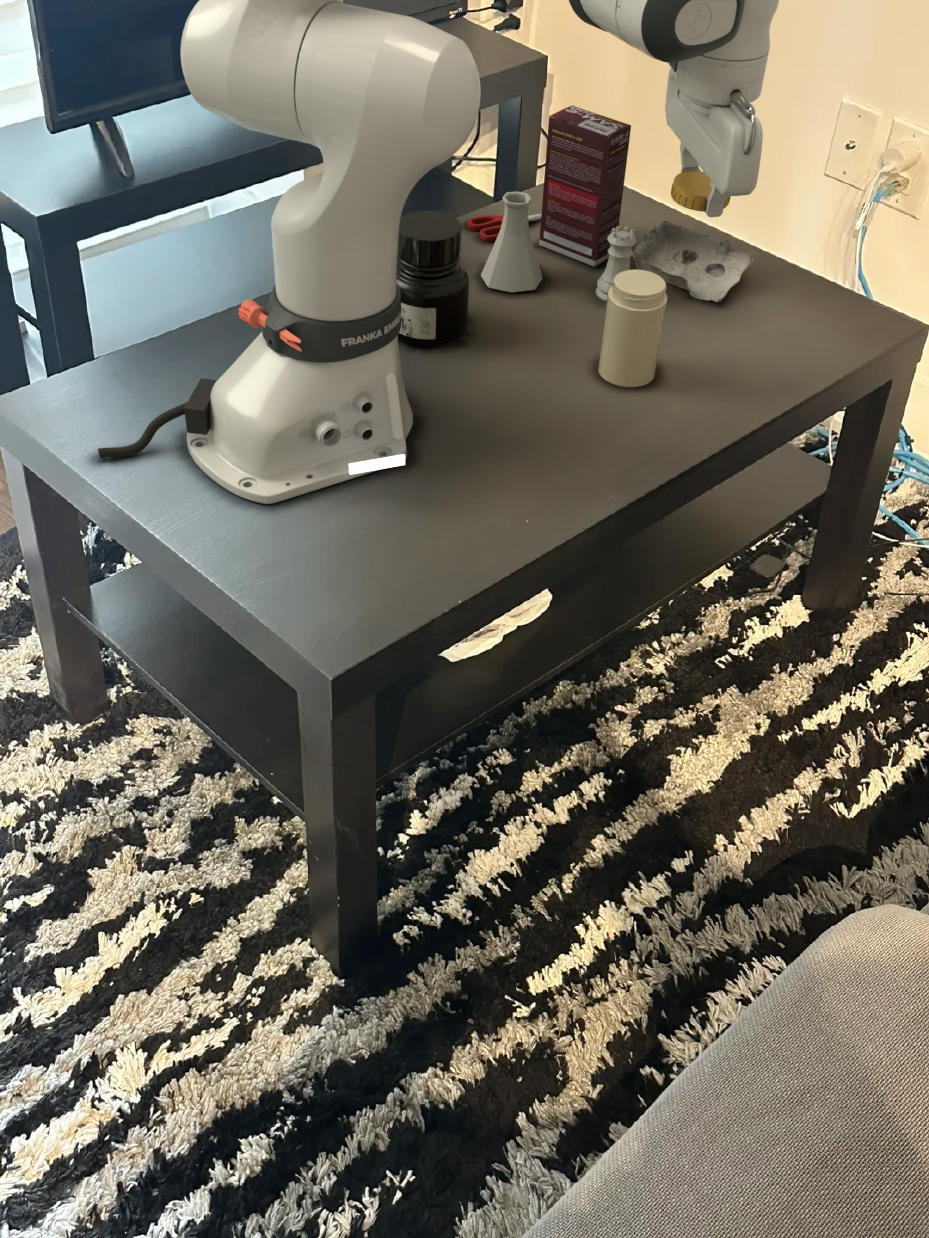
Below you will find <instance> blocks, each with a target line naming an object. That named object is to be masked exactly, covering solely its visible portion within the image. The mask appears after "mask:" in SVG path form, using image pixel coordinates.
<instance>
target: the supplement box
mask: <svg viewBox="0 0 929 1238" xmlns="http://www.w3.org/2000/svg"><path fill="white" fill-rule="evenodd" d="M631 130H632V125H631V124H628V123H625V122H622V121H620V120H616V119H613V118H610V117H608V116H604V115H601V114H598V113H595V112H592V111H590V110H587V109H584V108H581V107H578V106H575V105H570V106H569V105H568V106H567V107H565V108H562V109H560V110H557V111H556V112H554V113H553V114H549V115H548V125H547V136H546V137H547V138H546V147H545V148H546V149H545V160H544V161H545V162H544V163H545V164H544V173H543V175H544V177H543V190H542V200H541V201H542V203H541V213H542V214H541V218H540V228H539V239H538V245H539V246H540V247H543V248H546V249H548V250H551V251H553V252H556V253H558V254H561V255H563V256H565V257H568V258H571V259H573V260H576V261H578V262H581V263H584V264H586V265H589V266H591V267H593V268H595V267H597V266H599V265H600V264H602V263H604V262H605V261H608V259H609V253H608V249H609V248H610V246H611V245H610V243H609V241H608V239H607V237H608V236H609V235H610V234H611V232H612V229H613V228H615V231H616V227H617V226H620V218H621V211H622V203H623V194H624V187H625V181H626V180H625V179H626V173H627V172H626V170H627V163H628V155H629V148H630V147H629V146H630V139H631V137H630V136H631Z"/></svg>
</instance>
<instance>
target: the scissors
mask: <svg viewBox="0 0 929 1238" xmlns="http://www.w3.org/2000/svg"><path fill="white" fill-rule="evenodd" d="M541 214H542V212H541V213H536V214H531V215H528V222H532V221H535V220H541ZM503 217H504V215H479V216H474V217H471V218H469V219H468V220H467V227H468V228H469V230H471V231H479V238H480V239H481V241H483V242H489V243H490V242H495V241H496V239H497V237H498V234H499V232H500V229H501V225H502V221H503Z"/></svg>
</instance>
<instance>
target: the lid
mask: <svg viewBox="0 0 929 1238" xmlns="http://www.w3.org/2000/svg"><path fill="white" fill-rule="evenodd" d="M710 184H711V180H710V179H709V178H708V176H707V175H706V174H705V172H704V171H703V170H701V171H688V172H683V173H681V172H680V173H678V174H677V175H676V176H674V178H673V182H672V184H671V188H670V198H671V199H672V201H674V202H675V203H676V204H677V205H679V206H680V207H683V208H686V209H688V210H690V211H691V210H692V211H695V212H701V213H702V212H704V213H705V211H704V210H703V206H704V200H705V197H708V196H709V195H710V192H711V190H712V188H711V187H710ZM731 197H732V196H729V197H728V198H727V200H726V201H725V203H724V208H723V210H724V209H726V208H727V207H728V206H729V204H730V201H731Z"/></svg>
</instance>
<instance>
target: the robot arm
mask: <svg viewBox="0 0 929 1238" xmlns="http://www.w3.org/2000/svg"><path fill="white" fill-rule="evenodd" d="M568 2H569V5H570V7H571V9H572V11H573V12H574V14H575V15H576V17H578V18H579V19H580V20H581V21H582V22H584V23H585V24H587V25H589V26H591V27H594V28H596V29H599V30H601V31H603V32H606V33H609V34H610V35H612V36H614V37H615V38H616V39H618V40H620V41H621V42H623V43H625V44H627V45H628V46H630V47H632V48H634V49H636V50H637V51H639V52H641V53H643V54H644V55H646V56H648V57H650V58H652V59H654V60H657V61H660V62H663V63H667V64H668V65H669V70H668V76H667V83H666V94H665V104H664V112H665V113H664V114H665V121H666V124H667V126H668V128H669V129H670V130H671V131H672V132H673V133H674V135H675V137H677V139H678V140H679V141H680V145H679V151H680V163H681V169H680V173H683V172H688V171H702V172H705V174H706V175H707V176H708V178H709V179H710V180H711V184H710V187H711V188H712V190H711V192H710V195H709V196H708V197H705V200H704V206H703V210H704V211H705V212H704V213H705V214H706V216H707V218H719V217H721V216H722V215H723V213H724V209H725V208H724V203H725V201H726V200H727V198H728V197H729V196H731V197H741V196H749V195H751V194H752V193H753V192H754V191H755V190H756V187H757V183H758V179H759V174H760V173H759V172H760V166H761V158H762V151H763V139H764V133H763V132H764V131H763V126H762V123H761V121H760V120H759V119H758V117H757V116H756V108H755V106H754V105H753V104H752V103H753V102H756V100H758V99H759V98H760V96H761V94H762V88H763V84H764V79H765V74H766V69H767V64H768V60H769V59H768V58H769V54H770V49H771V39H770V38H771V36H770V29H771V24H772V20H773V18H774V16H775V14H776V12H777V10H778V7H779V3H780V0H568ZM180 64H181V70H182V75H183V77H184V80H185V84H186V86H187V88H188V90H189V92H190V94H191V96H192V98H193V99H194V101H195V102H196V103H197V104H198V105H199V106H200V107H202V109H205V110H207V111H209V112H211V113H212V114H214V115H216V116H219V117H221V118H222V119H224V120H226V121H228V122H231V123H233V124H235V125H237V126H239V127H241V128H243V129H246V130H248V131H253V132H256V133H261V134H266V135H270V136H274V137H278V138H282V139H287V140H291V141H296V142H300V143H304V144H307V145H308V144H309V145H312V146H313V147H315V148H318V149H319V150H320V153H321V156H322V163H323V165H322V173H319V174H316V175H313V176H310V177H308V178H306V179H303V180H301V181H299V182H297V183H295V184H293V186H291V187H290V188H288V189H287V190H286V191H285V192H284V193H283V194H282V195H281V197H280V198H279V200H278V201H277V203H276V205H275V208H274V210H273V213H272V217H271V222H270V228H271V230H270V231H271V243H272V255H273V256H272V257H273V271H274V286H273V287H272V291H271V293H270V296H269V299H268V303H267V307H266V308H264V307H263V306H260V305H259V304H258V303H257V302H256V301H255V300H253V299H246V300H244V301H243V302H242V303H241V304H240V307H238V315H239V316H238V317H239V318H240V319H241V320H242V321H243V322H245V323H248V324H249V326H250V327H252V328H254V329H255V328H256V329H258V328H260V327H261V332H260V333H259V334H258V335H257V336H256V338H255V339H253V341H252V342H251V343H250V344H249V345H248V346H247V347H246V348H245V350H244V351H243V352H242V353H240V355H239V356H238V357H237V358H236V359H235V361H234V362H233V363H232V364H231V365H230V366H229V367H228V368H227V370H226V371H225V372H224V373H223V374H222V375H221V376H220V377H219V378H218V379H211V378H203V377H201V378H199V381H198V382H197V384H196V386H195V388H194V390H193V392H192V393H191V395H190V396H189V398H188V400H187V401H186V402H184V403H181V404H179V405H177V406H175V407H172V408H169V409H168V410H166V411H164V412H163V413H161V414H159V415H158V416H156V417H155V418H153V420H151V422H150V423H149V424H148V426H147V427H146V428H145V429H144V431H143V433H142V435H141V436H140V438H139V439H138V440H137V441H135V442H134V443H132V444H129V445H125V446H117V447H113V446H111V447H100V448H99V447H98V448H97V451H98V457H99V459H106V458H107V459H110V458H125V457H131V456H133V455H135V454H138V453H140V452H142V451H143V450H145V449H146V448H147V447H148V446H149V444H150V443H151V441H152V440H153V438H154V436H155V434H156V433H157V432H158V430H159V429H160V428H161V427H163V426H164V425H166V424H167V423H169V422H171V421H173V420H175V419H177V418H179V417H182V416H184V419H185V427H186V446H187V451H188V453H189V455H190V457H191V459H192V460H193V462H194V463H195V464H196V465H197V466H198V467H199V469H200V470H201V471H203V473H205V475H207V476H208V477H209V478H210V479H211V480H213V481H214V482H215V483H216V484H218V485H219V486H220V487H222V488H223V489H225V490H227V491H228V492H230V493H232V494H233V495H235V496H237V497H240V498H243V499H245V500H248V501H251V502H254V503H259V504H264V505H272V504H275V503H279V502H283V501H286V500H288V499H292V498H295V497H299V496H301V495H305V494H308V493H311V492H314V491H317V490H321V489H323V488H326V487H330V486H333V485H336V484H339V483H343V482H346V481H349V480H352V479H355V478H358V477H361V476H362V477H363V476H365V475H368V474H371V473H374V472H378V471H380V470H381V471H382V470H384V469H389V468H394V467H400V466H406V460H407V456H408V449H407V441H406V440H407V437H408V435H409V434H410V432H411V430H412V427H413V423H414V413H413V410H412V407H411V404H410V402H409V399H408V398H409V397H408V395H407V392H406V388H405V387H406V386H405V383H404V378H403V372H402V365H401V358H400V347H399V339H398V334H399V332H400V329H401V292H400V288H399V285H398V284H397V282H396V274H397V247H398V234H399V224H400V218H401V217H402V213H403V210H404V208H405V207H404V206H405V204H406V202H407V199H408V197H409V195H410V194H411V192H412V190H413V189H414V188H415V186H416V184H417V183H418V182H419V181H420V180H421V179H422V178H423V177H424V176H425V175H426V174H427V173H428V172H430V171H431V170H433V169H435V168H436V167H438V166H439V165H441V164H444V163H445V162H447V161H448V160H449V159H450V158H452V157H453V156H455V154H456V153H458V151H459V150H461V148H462V147H463V145H465V143H466V142H467V140H468V139H469V137H470V135H471V133H472V132H473V130H474V127H475V125H476V122H477V119H478V116H479V113H480V108H481V107H480V106H481V97H482V95H481V93H482V88H481V81H480V80H481V79H480V73H479V70H478V66H477V63H476V61H475V58H474V56H473V54H472V52H471V50H470V48H469V46H468V45H467V43H466V42H465V41H464V40H463V39H461V38H459V37H457V36H455V35H453V34H451V33H449V32H447V31H444V30H442V29H440V28H439V27H436V26H434V25H431V24H429V23H427V22H425V21H423V20H420V19H419V18H415V17H413V16H409V15H403V14H399V13H395V12H394V13H393V12H388V11H384V10H378V9H373V8H367V7H362V6H358V5H353V4H348V3H344V0H198V1H197V2H196V4H195V5H194V7H193V8H192V9H191V11H190V12H189V15H188V17H187V18H186V20H185V24H184V27H183V30H182V36H181V40H180ZM723 208H724V209H723Z"/></svg>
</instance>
